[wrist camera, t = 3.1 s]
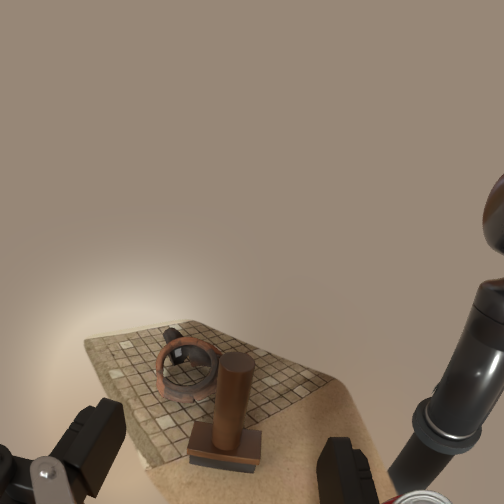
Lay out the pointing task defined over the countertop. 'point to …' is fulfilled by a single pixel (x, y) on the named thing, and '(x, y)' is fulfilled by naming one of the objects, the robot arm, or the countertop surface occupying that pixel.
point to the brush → (228, 421)
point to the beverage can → (419, 498)
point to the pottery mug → (198, 356)
